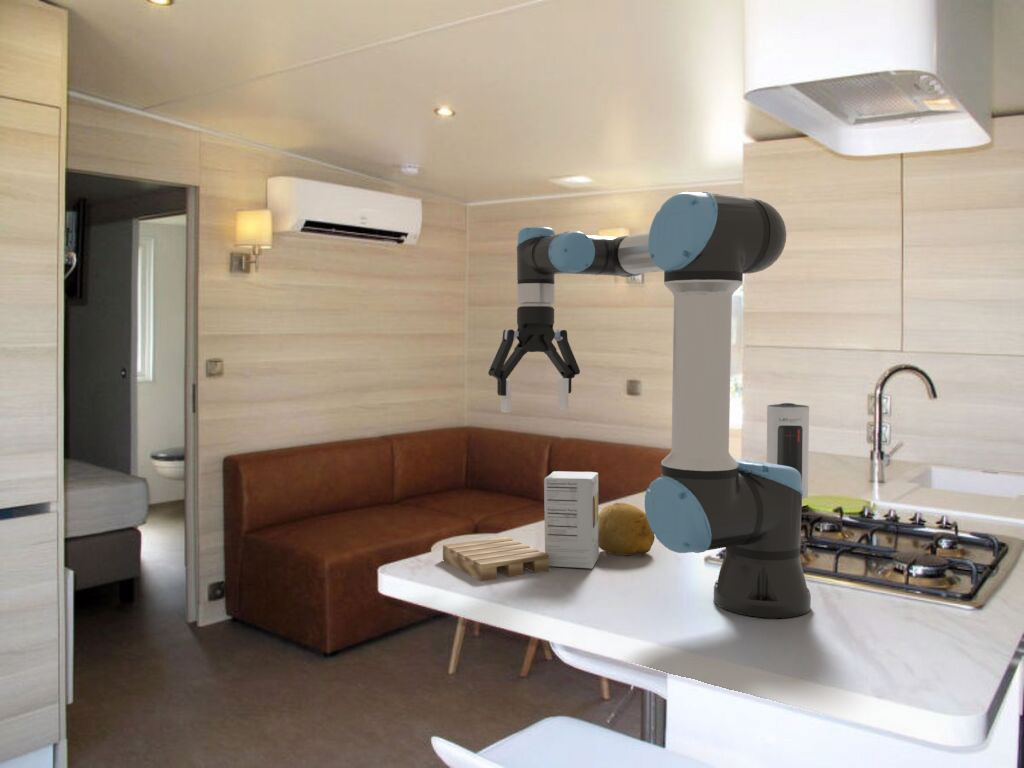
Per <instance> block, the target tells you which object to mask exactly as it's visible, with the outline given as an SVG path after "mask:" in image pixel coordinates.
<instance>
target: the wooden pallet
mask: <svg viewBox="0 0 1024 768" xmlns="http://www.w3.org/2000/svg"><path fill="white" fill-rule="evenodd" d="M443 560H444V561H443ZM442 561H443V562H445V563H447V564H448V565H451V566H453V567H454V568H456V569H458V570H460V571H462V572H464V573H465V574H467V575H469V576H471V577H472V576H473V578H474V577H475V578H474V579H476V580H478V581H480V582H487V581H493V580H497V572H498V573H500V574H501V575H503V576H506V577H508V578H513V577H518V576H523V575H524V569H526V570H528V571H530V572H532V573H534V574H537V573H543V572H544V573H545V572H549V571H550V566H549V555H548V554H546V553H545V552H544V551H540V550H538V549H536V548H534V547H531V546H529V545H526V544H525V543H522V542H520V541H517V540H515V539H513V538H510V537H508V536H504V537H502V536H501V537H495V538H487V539H479V540H473V541H472V540H471V541H464V542H457V543H450V544H443V545H442Z"/></svg>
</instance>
